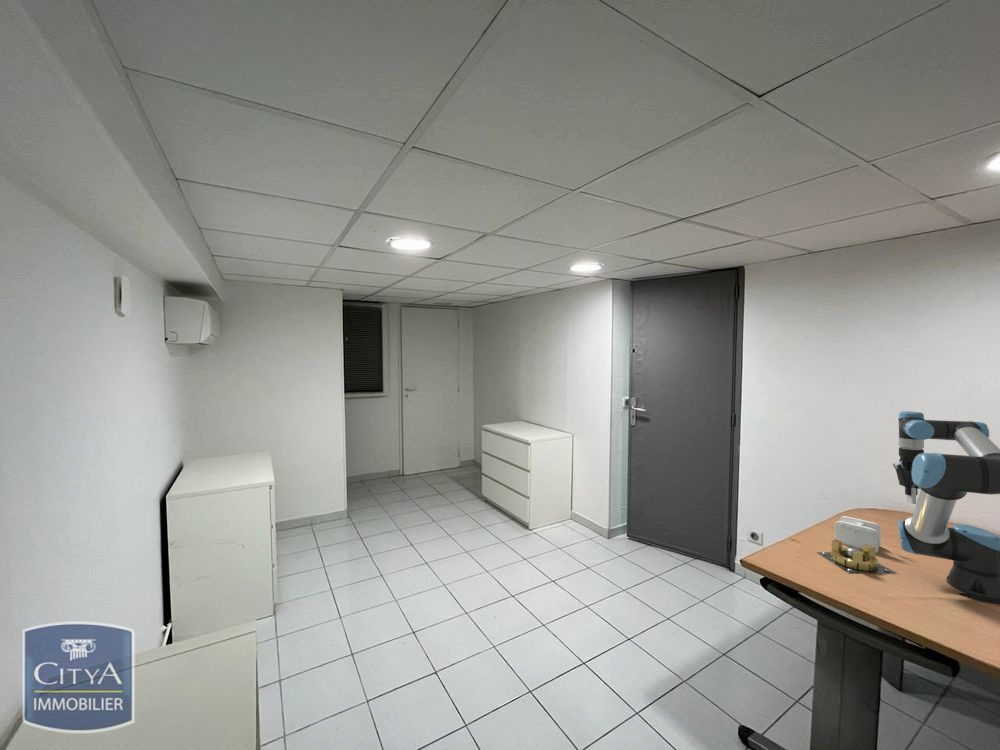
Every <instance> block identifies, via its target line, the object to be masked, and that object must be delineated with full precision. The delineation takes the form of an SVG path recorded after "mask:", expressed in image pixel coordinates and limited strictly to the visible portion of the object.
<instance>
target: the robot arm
mask: <svg viewBox="0 0 1000 750" xmlns="http://www.w3.org/2000/svg"><path fill="white" fill-rule="evenodd" d="M897 419H898V446H899V447H898V456H899V460H898V462H897V463H893V465H892V466H893V468H894V469H895V473H896V477H897V480H898V483H899V485H900V486H902V487H904V494H905V495H906V499H905V500H906V503H909V504H912V505H915V509H914V511H913V513H912V514H913V515H910V516H909V517H908V518H906V520H897V530H898V536H899V543H900V545H901V548H902V550H903V551H904V552H906V553H910V554H914V555H919V556H926V557H932V558H937V559H943V560H949V561H952V562H953V563H952V567H951V569H950V570H949V573H948V575H947V576H946V578H945V579H946V580H945V581H946V583H947V584H948V585H949V586H950V587H952V588H953V589H955V590H957V591H960V592H961V593H960V592H959V593H958V594H959V595H961V596H963V597H967V598H969V599H973V600H976V601H979V602H980V601H981V602H984V603H989V604H995V605H996V604H997V605H1000V536H998V535H997V534H995V533H993V532H991V531H989V530H986V529H983V528H980V527H977V526H973V525H968V524H965V523H964V524H963V523H955V524H953V525H952V527H948V524H949V521H950V520H951V519H950V518H951V515H952V513H953V510H954V507H955V505H956V502H957V501H958V500H961V499H963V498H964V497H966V495H967V494H968V493H972V494H980V495H1000V448H999V447H998V445H996V444H995V443H994V442H993V441H992V440H991V439H990V430H989V427H988V425H987V424H986V423H984V422H980V421H973V420H971V421H969V420H968V421H966V420H965V421H963V420H961V421H960V420H937V419H925V416H924V413H922V412H921V411H911V410H910V411H907V410H906V411H904V410H903V411H900V412H898V418H897ZM925 440H942V441H943V440H945V441H956V442H957V443H958V444H959V446H960V447H961V448H962V450H964V452H965V453H966V454H967V455H962V454H946V453H945V454H944V453H939V452H925ZM918 490H920V491H919V493H918ZM917 496H918V497H917ZM962 592H963V593H962Z"/></svg>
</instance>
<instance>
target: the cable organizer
mask: <svg viewBox="0 0 1000 750" xmlns="http://www.w3.org/2000/svg"><path fill="white" fill-rule="evenodd" d="M881 529H882V528H881V526H880V525H879V524H878V523H876V522H873V521H869V520H864V519H859V518H856V517H851V516H846V515H844V516H841V517H839V520H837V521H836V522H835V523H834V539H837V540H840V541H842V545H846V546H848V547H854V548H858V549H860V550H863V545H871V546H873V547H874V548H875V554H876V553H878V552H879V548H880V546H881V545H882V544H881V542H882V541H881V539H882V538H881V537H882V536H881V535H882V533H881Z"/></svg>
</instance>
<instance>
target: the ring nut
mask: <svg viewBox="0 0 1000 750" xmlns="http://www.w3.org/2000/svg"><path fill="white" fill-rule="evenodd" d="M843 556H847V547H843V544H842V541H840V540H837V539H835V538H834V539H832V540H831V557H832V559H833V560H834V561H836V562H837V563H839V564H842V565H844V566H846V567H850V568H854V569H858V570H866V571H872V570H877V569H878V563H879V559H877V558H876V553H875V548H874V547H873V546H871V545H863V549H862V550H861V552H859V551H853V550H852V560H851V559H848V558H845V557H843ZM863 560H864V561H865V562H863Z"/></svg>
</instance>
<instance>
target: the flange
mask: <svg viewBox="0 0 1000 750" xmlns="http://www.w3.org/2000/svg"><path fill="white" fill-rule="evenodd" d="M846 548H847V556H843V557H845V558H848V559H851V560H852V550H853V551H859V552H861V551H862V549H860V548H856V547H852V546H848V547H846ZM816 554H818V555H819V556H820V557H822V558H824V559H826V560H828V561H829V562H830V563H831V564H833V565H834V566H836V567H838V568H839V569H841V570H842V571H844V572H845V573H847V574H850V575H852V574H853V575H860V574H861V575H870V574H871V575H872V574H873V575H886V574H887V575H891V574H892V575H897V573H896V572H894V571H893V570H891V569H889V568H887V567H886V566H884V565H882V564H881V563H879V562H878V569H877V570H872V571H866V570H858V569H854V568H850V567H846V566H844V565H842V564H839V563H837V562H836V561H834V560H833V559H832V557H831V552H830V551H829V552H828V551H826V552H824V551H817V552H816ZM863 562H865V561H864V560H863Z"/></svg>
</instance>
